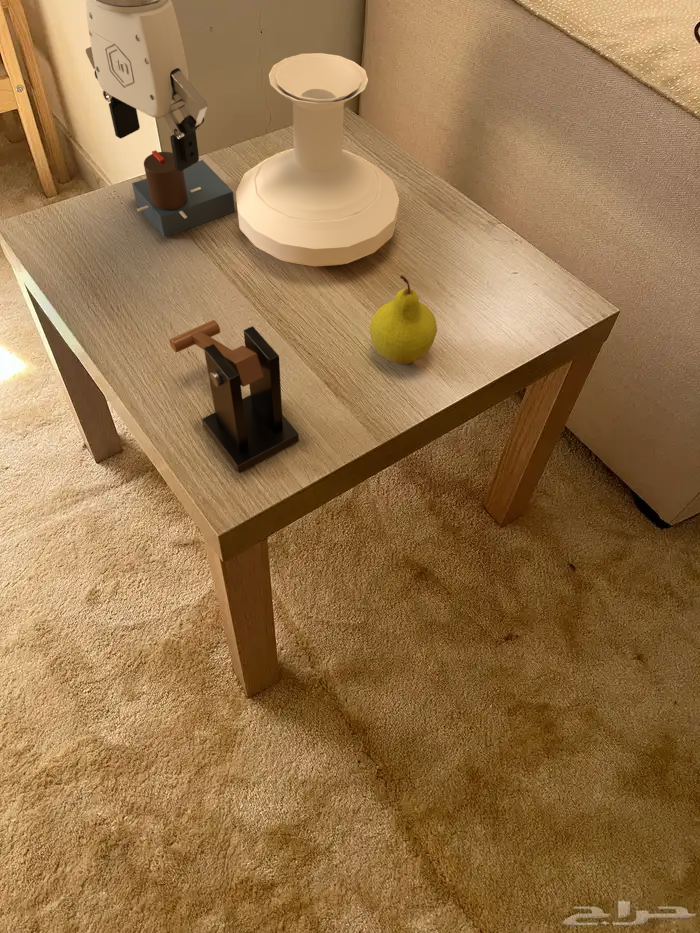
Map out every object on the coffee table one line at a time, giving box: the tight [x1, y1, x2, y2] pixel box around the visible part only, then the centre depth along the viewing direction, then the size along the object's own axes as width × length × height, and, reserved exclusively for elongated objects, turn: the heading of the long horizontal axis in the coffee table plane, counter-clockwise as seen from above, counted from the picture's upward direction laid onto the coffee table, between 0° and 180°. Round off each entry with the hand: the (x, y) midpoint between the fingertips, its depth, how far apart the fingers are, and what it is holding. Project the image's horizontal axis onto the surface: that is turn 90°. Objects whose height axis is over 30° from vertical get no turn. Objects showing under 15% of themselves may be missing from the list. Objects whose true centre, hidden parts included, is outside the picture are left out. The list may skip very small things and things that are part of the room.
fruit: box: [369, 275, 438, 365], centre depth 73 cm, size 7×7×12 cm
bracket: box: [201, 325, 300, 474], centre depth 66 cm, size 7×7×12 cm
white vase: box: [235, 52, 400, 268], centre depth 81 cm, size 20×20×19 cm
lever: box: [169, 319, 264, 388], centre depth 66 cm, size 13×5×2 cm, turn 36°
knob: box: [143, 149, 188, 210], centre depth 85 cm, size 4×4×5 cm
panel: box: [131, 159, 236, 238], centre depth 89 cm, size 12×10×3 cm
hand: (157, 149), depth 81 cm, fingers open, 9 cm apart
